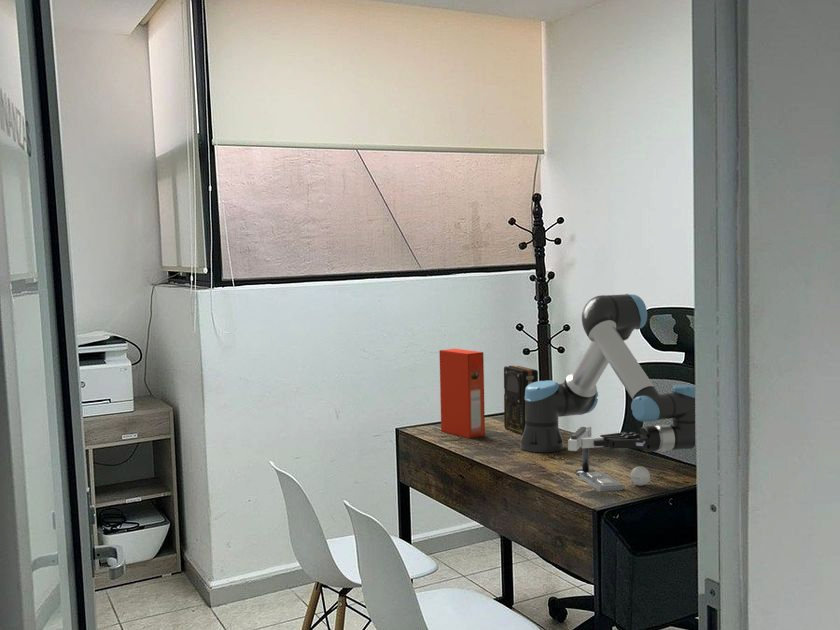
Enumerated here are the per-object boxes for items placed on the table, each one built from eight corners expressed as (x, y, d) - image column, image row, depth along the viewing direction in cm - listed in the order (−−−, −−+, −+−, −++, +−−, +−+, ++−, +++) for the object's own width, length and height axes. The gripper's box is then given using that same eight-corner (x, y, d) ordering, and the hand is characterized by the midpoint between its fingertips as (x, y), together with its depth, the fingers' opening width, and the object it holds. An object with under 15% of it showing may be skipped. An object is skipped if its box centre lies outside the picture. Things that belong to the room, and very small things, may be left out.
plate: (579, 477, 265) (579, 471, 265) (600, 476, 266) (600, 470, 266) (600, 491, 249) (600, 485, 249) (622, 489, 251) (622, 483, 251)
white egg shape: (626, 484, 257) (626, 465, 257) (643, 482, 259) (643, 463, 259) (640, 490, 250) (640, 471, 250) (657, 488, 252) (657, 469, 251)
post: (573, 472, 272) (572, 438, 271) (590, 471, 273) (590, 437, 272) (580, 477, 266) (580, 442, 265) (598, 475, 267) (598, 441, 266)
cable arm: (581, 437, 271) (580, 423, 270) (592, 437, 269) (592, 424, 269) (566, 451, 252) (566, 436, 251) (578, 452, 250) (578, 437, 250)
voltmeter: (501, 428, 341) (501, 365, 340) (520, 426, 345) (520, 364, 343) (521, 436, 327) (521, 370, 325) (541, 433, 330) (540, 369, 329)
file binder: (468, 438, 324) (467, 353, 322) (440, 431, 338) (439, 350, 336) (484, 435, 329) (484, 352, 327) (456, 428, 343) (455, 348, 341)
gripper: (666, 455, 253) (590, 460, 248) (645, 446, 266) (573, 450, 261) (666, 430, 252) (590, 435, 248) (645, 422, 265) (573, 426, 261)
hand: (581, 443), depth 254 cm, fingers closed
